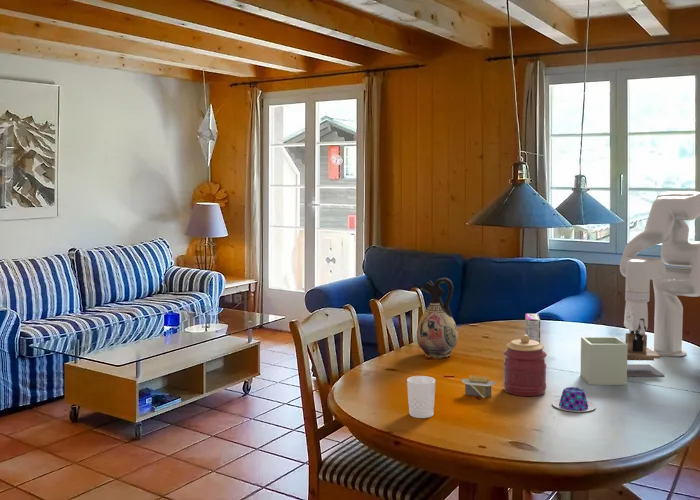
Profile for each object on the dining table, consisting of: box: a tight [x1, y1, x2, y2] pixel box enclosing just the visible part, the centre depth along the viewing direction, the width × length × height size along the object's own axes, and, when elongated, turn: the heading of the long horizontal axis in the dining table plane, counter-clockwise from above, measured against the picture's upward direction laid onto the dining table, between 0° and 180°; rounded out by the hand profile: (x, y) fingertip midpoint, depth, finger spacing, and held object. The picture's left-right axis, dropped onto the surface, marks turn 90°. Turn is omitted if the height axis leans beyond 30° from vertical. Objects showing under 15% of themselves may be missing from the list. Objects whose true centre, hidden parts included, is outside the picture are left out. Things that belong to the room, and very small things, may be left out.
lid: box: [624, 332, 661, 361], centre depth 234 cm, size 11×12×8 cm
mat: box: [627, 363, 665, 378], centre depth 235 cm, size 14×14×1 cm
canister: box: [502, 334, 548, 397], centre depth 214 cm, size 13×13×18 cm
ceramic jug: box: [416, 277, 459, 359], centre depth 258 cm, size 17×15×30 cm
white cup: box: [406, 375, 436, 419], centre depth 194 cm, size 8×8×10 cm
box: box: [579, 336, 628, 386], centre depth 224 cm, size 11×12×13 cm
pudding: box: [551, 386, 597, 413], centre depth 199 cm, size 12×12×5 cm
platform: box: [461, 374, 496, 399], centre depth 209 cm, size 12×18×7 cm, turn 68°
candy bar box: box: [524, 313, 541, 344], centre depth 249 cm, size 11×5×16 cm, turn 168°
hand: (635, 349), depth 234 cm, fingers closed on lid, 3 cm apart
